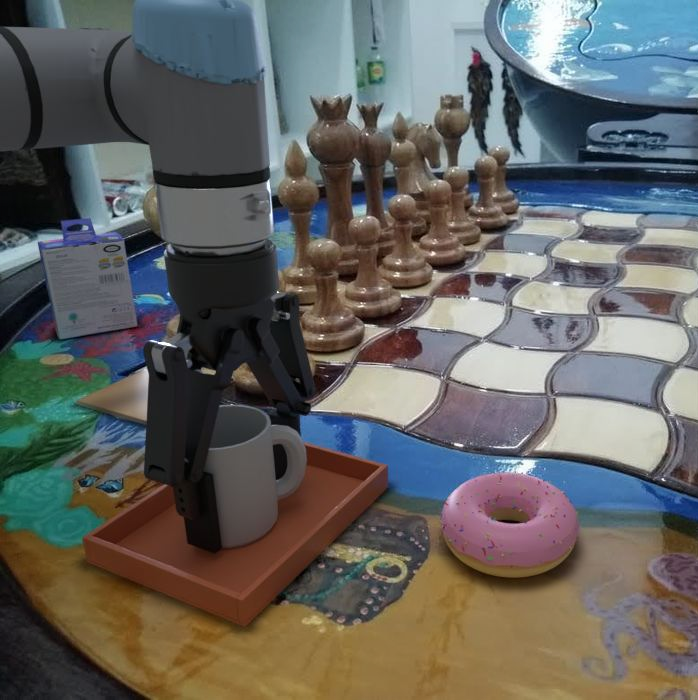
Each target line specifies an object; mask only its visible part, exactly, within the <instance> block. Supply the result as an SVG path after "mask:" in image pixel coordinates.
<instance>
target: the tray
mask: <svg viewBox="0 0 698 700" xmlns="http://www.w3.org/2000/svg"><path fill="white" fill-rule="evenodd" d="M303 442H304V445H305V448H306V458H307V462H306V469H305V475H304V477H303V480H302V484H301V485H300V486H299V487H298V488H297V489H296V490H295V492H294V493H292V494H291V495H289V496H287V497H286V498H283V499H280V500H278V516H277V520H276V522H275V524H274V525H273V527H272V528H271V530H270V531H269V532H268V533H267V534H266V535H265V536H263V537H262V538H260V539H258V540H257V541H255V542H253V543H250V544H247V545H245V546H241V547H236V548H229V549H220V550H219V551H218V552H217V553H215V554H214V553H212V552H209V551H206V550H204V549H201V548H198V547H195V546H193V545H190V544H187V537H186V530H185V523H184V517H182V516H180V515H179V514H178V513H177V511H176V506H175V505H176V504H175V499H174V492H173V487H171V486H168V485H165V484H162V485H160V486H159V487H158V488H156V489H155V490H153V491H151V492H150V493H148V494H147V495H145V496H144V497H141V499H139V500H137V501H136V502H134V503H132V504H131V505H130V506H128V507H127V508H125V509H123V510H122V511H119V513H118V514H116V515H114V516H113V517H111V518H110V519H108V520H106V521H105V522H103V523H102V524H100V525H99V526H97V527H96V528H94V529H92V530H91V531H90V532H88V533H86V534H85V535H83V536H82V537H81V539H82V544H83V549H84V554H85V558H86V563H87V564H90V565H93V566H96V567H97V568H100V569H103V570H104V571H107V572H110V573H113V574H115V575H117V576H120V577H122V578H125V579H127V580H129V581H132V582H134V583H137V584H138V585H141V586H144V587H146V588H149V589H151V590H154V591H156V592H159V593H161V594H163V595H165V596H168V597H170V598H173V599H175V600H178V601H181V602H183V603H186V604H188V605H190V606H193V607H195V608H197V609H199V610H203V611H205V612H207V613H209V614H212V615H214V616H216V617H219V618H222V619H224V620H227V621H229V622H231V623H234V624H237V625H239V626H242V627H244V628H246V627H247V626H249V624H250V623H251V622H253V620H254V619H255V618H257V616H258V615H259V614H260V613H262V611H264V610H265V609H266V608H267V607H268V605H269V604H271V603H272V602H273V600H275V599H276V597H278V596H279V595H280V594H281V593H282V592H283V591H284V590H285V589H286V588H287V587H288V586H289V585H290V584H291V583H292V582H293V581H294V580H296V578H297V577H298V576H299V575H301V573H302V572H304V570H306V568H307V567H309V565H310V564H312V562H313V561H315V560H316V558H318V557H319V556H320V555H321V554H322V553H323V552H324V551H325V550H326V549H327V548H328V547H329V546H331V544H332V543H333V542H334V541H335V540H336V539H337V538H338V537H339V536H340V535H341V534H342V533H343V532H344V531H345V530H346V529H347V528H348V527H349V526H351V524H352V523H353V522H354V521H356V520H357V518H358V517H360V515H362V514H363V513H364V511H366V510H367V508H369V507H370V506H371V505H372V504H373V503H374V502H375V501H376V500H377V499H378V498H379V497H380V496H381V495H382V494H383V493H384V492H385V491H386V490H387V489H388V488H389V465H388V464H386V463H382V462H377V461H374V460H371V459H367V458H363V457H359V456H356V455H353V454H350V453H346V452H342V451H338V450H335V449H331V448H328V447H325V446H320V445H317V444H313V443H310V442H307V441H303Z"/></svg>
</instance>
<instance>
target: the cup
mask: <svg viewBox="0 0 698 700" xmlns="http://www.w3.org/2000/svg"><path fill="white" fill-rule="evenodd" d="M266 413H267V412H266V411H264V410H262V409H260V408H258V407H254V406H251V405H245V404H244V405H243V404H220V405H219V410H218V414H217V418H216V422H215V426H214V430H213V435H212V439H211V443H210V447H209V451H208V456H207V460H206V464H205V468H204V472H208V473H211V474H213V478H214V486H215V495H216V503H217V511H218V519H219V527H220V535H221V543H222V549H229V548H236V547H241V546H245V545H247V544H250V543H253V542H255V541H257V540H258V539H260V538H262V537H263V536H265V535H266V534H267V533H268V532H269V531H270V530H271V528H272V527H273V525H274V524H275V522H276V520H277V516H278V500H280V499H283V498H286V497H287V496H289V495H291V494H292V493H294V492H295V490H296V489H297V488H298V487H299V486H300V485H301V482H302V480H303V477H304V475H305V469H306V462H307V458H306V448H305V445H304V442H305V441H304V439H303V438H302V435H301V436H300V435H299V434H298V432H297V431H296V430H294V429H292V428H290V427H289V426H283V425H271V421H270V418H269V416H268V415H267V414H266ZM275 444H282V445H283V447H284V449H285V451H286V454H287V462H288V465H287V470H286V473H285V474H284V476H283V477H282V478H280V479H279V480H276V477H275V465H274V455H273V445H275ZM185 461H186V462H188V460H187V459H186V458H185Z"/></svg>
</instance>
